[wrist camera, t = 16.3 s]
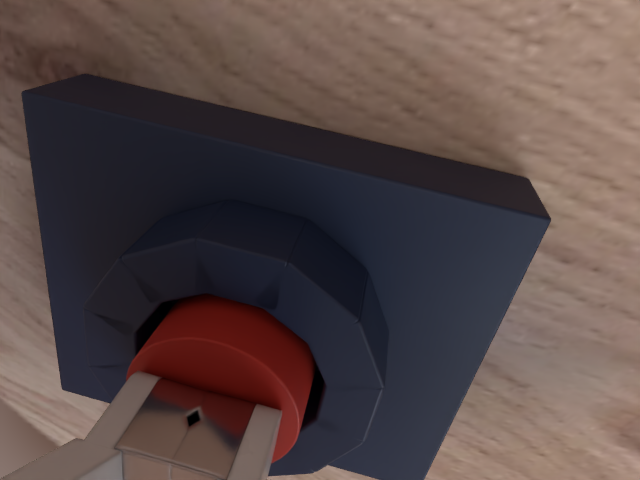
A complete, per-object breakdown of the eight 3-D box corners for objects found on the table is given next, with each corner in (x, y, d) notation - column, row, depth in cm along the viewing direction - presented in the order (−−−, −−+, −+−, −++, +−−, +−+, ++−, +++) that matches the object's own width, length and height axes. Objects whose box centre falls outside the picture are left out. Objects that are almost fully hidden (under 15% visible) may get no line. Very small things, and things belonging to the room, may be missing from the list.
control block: (102, 342, 16) (17, 440, 13) (84, 72, 12) (-57, 111, 8) (418, 429, 15) (419, 558, 12) (529, 178, 11) (581, 269, 7)
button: (163, 383, 12) (126, 442, 10) (166, 266, 10) (122, 317, 9) (302, 422, 12) (285, 488, 10) (330, 308, 10) (314, 369, 8)
